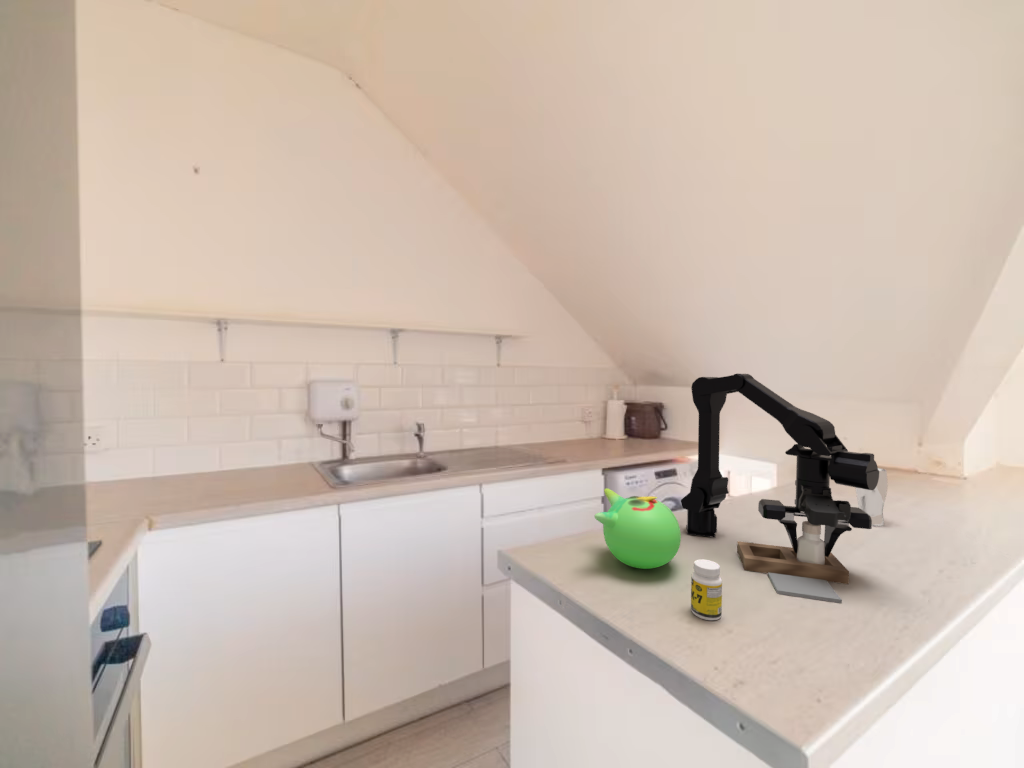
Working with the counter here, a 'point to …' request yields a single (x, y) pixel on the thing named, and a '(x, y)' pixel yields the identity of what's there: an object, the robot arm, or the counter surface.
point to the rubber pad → (803, 587)
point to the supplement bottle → (706, 590)
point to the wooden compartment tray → (789, 563)
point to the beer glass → (874, 499)
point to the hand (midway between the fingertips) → (810, 554)
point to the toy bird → (640, 530)
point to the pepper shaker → (811, 544)
